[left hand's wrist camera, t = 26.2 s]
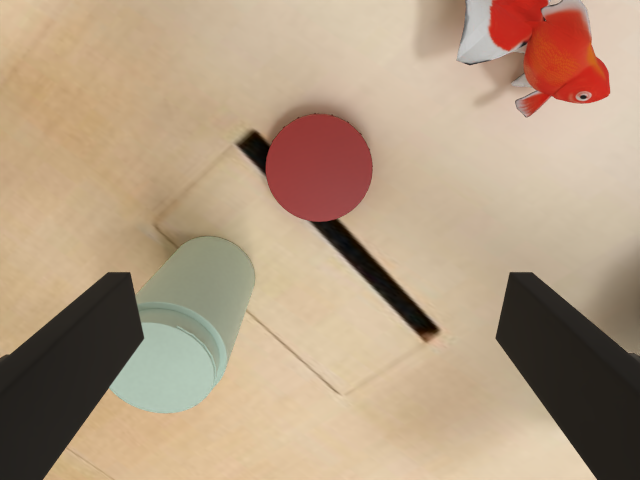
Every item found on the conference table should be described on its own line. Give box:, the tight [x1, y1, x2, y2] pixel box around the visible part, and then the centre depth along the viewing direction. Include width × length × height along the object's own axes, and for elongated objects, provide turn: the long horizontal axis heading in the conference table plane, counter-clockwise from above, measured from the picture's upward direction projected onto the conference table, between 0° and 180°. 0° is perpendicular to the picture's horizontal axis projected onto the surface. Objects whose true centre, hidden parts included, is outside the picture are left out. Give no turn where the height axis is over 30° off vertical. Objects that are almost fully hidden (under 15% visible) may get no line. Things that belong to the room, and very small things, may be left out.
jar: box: [109, 236, 255, 413], centre depth 34 cm, size 10×10×15 cm
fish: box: [457, 0, 610, 117], centre depth 29 cm, size 11×16×10 cm
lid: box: [266, 113, 373, 222], centre depth 36 cm, size 10×10×2 cm
